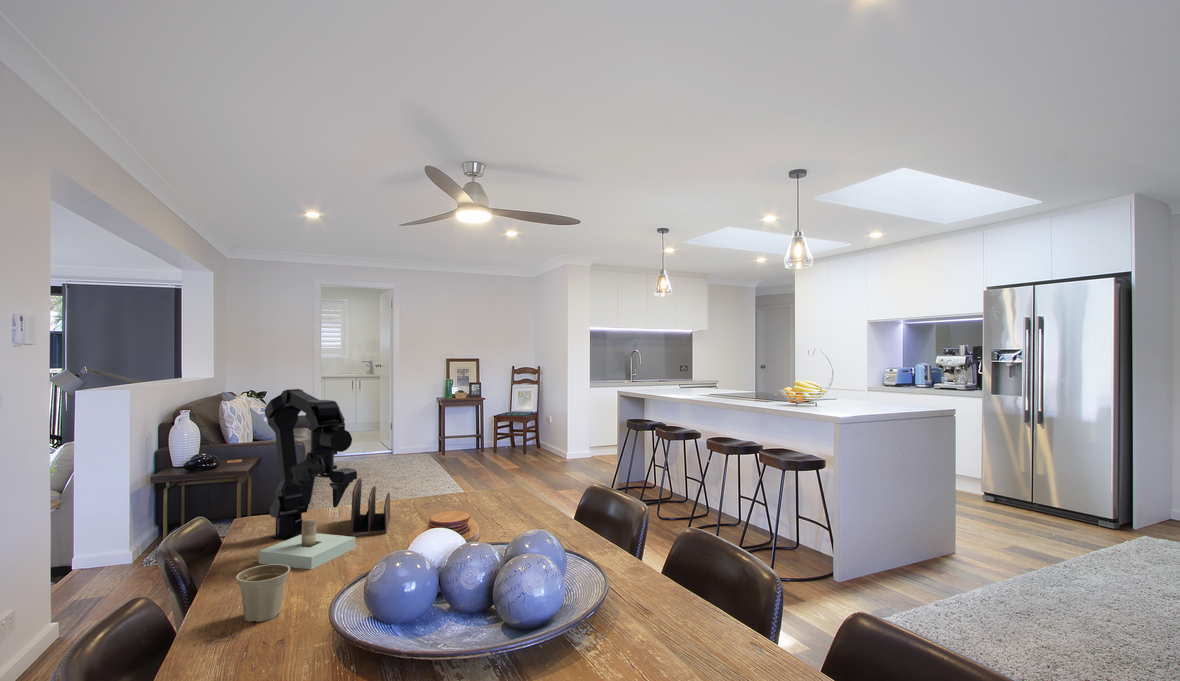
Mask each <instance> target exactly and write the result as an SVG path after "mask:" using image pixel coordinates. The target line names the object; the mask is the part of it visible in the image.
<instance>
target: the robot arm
mask: <svg viewBox="0 0 1180 681" xmlns="http://www.w3.org/2000/svg"><path fill="white" fill-rule="evenodd" d="M301 412H303V413H305V419H306V420H307V421H308V422H309V423H310V425H309V426H308V431H310V451H309V452H308V451H307V453H306V455H305V459H304V460H302V461H300V462H299V463H298V458H297V448H296V441H295V440H296V439H295V433H294V432H295V431H294V430H295V427H296V425H297V423H298V421H299V414H300V413H301ZM264 415H265V418H266V420H267V425H268V426H269V427H270V429H272V431H273V432H274V434H275V442H276V452H277V453H276V454H277V460H278V461H277V463H278V470H279V478H280V479H279V480H280V482H279V484H278V485H277V488H276V490H275V493H274V494H275V497H274V500H273V501H272V503H271V505H270V507H269V516H270V517H271V518H275V533H274V534H272V535H271V536H270V537H271V538H272V539H279V540H280V539H282V540H288V539H291V538H293V537H296V536H299V535H301V534H302V521H303V518H302V514H304V513H307V512H308V509H309V505H310V503H311V500H312V495H313V491H314V484H315V478H327V479H328V478H329V480H330V482H331V483H330V482H329V483H328V484H329V486H330V487H331V489H332V507H333V508H337V507H338V506H339V504H340V503H341V500H342V498H343V496H344V494H345V492H346V490H347V488H348V487H349V485H350V484H351V483H353V482H354V481H355V480H358V471H357V470H356V469H355V468H350V467H343V468H339V469H338V465H336V464H335V463H334V462H335V455H338V453H340V452H341V453H342V452H345V451H347V450H348V449H349V448H350V447H351V446H352V441H353V436H352V435H351V433H350V432H349V431H348V430H347V429H346V423H345V418H344V416H343V413H342V411H341V409H340V406H339V405H338V403H337V401H335V400H330V399H318V398H316V397H314V396H312V395H311V394H308V393H306V392H304V390H303V389H299V388H292V389H289V388H288V389H285V390H282V392H281V393H280V394H279V395H277V396H275V397H274V398H272V399H270V401H269V402H268V404H267V405H266V406H265V408H264Z"/></svg>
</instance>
